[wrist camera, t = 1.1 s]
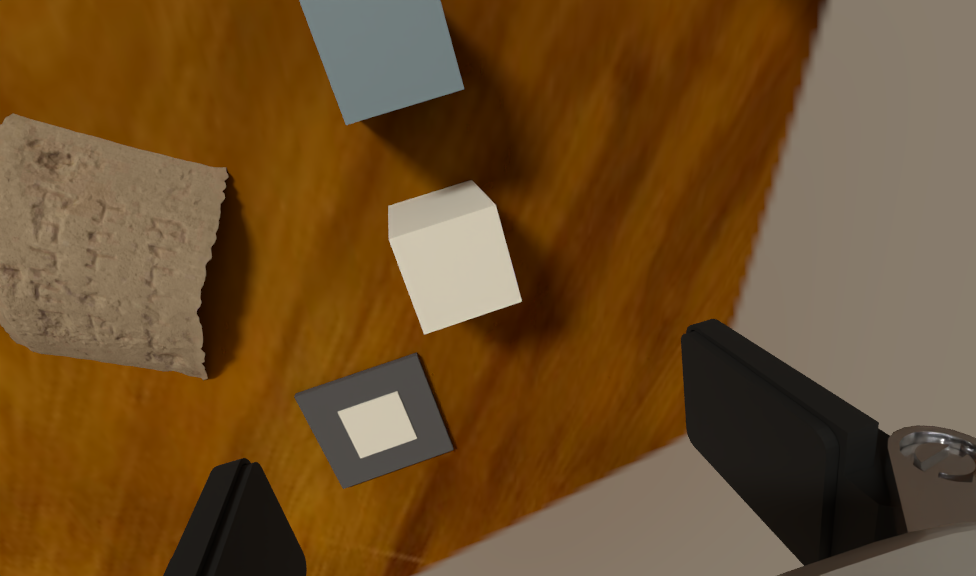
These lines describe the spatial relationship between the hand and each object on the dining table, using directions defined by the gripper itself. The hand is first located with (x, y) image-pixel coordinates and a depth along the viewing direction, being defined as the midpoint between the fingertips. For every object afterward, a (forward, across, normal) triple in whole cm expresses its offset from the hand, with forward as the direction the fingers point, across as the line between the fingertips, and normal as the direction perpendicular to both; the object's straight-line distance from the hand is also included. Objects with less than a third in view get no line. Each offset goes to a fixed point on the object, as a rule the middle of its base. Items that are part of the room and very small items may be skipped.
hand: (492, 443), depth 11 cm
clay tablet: (+21, +16, -2) cm, 27 cm away
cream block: (+20, -1, +1) cm, 20 cm away
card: (+20, +6, +12) cm, 24 cm away
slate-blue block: (+20, -1, -9) cm, 22 cm away
